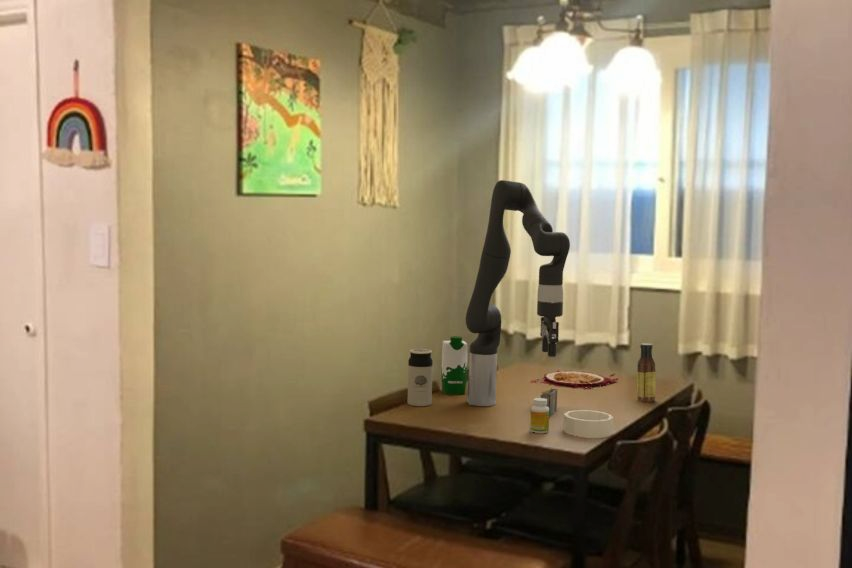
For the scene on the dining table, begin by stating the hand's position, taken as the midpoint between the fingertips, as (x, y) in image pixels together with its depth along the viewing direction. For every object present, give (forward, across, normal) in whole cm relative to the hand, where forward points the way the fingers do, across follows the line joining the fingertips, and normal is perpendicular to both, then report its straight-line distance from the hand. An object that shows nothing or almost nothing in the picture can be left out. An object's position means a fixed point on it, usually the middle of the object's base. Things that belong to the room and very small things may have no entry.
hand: (548, 354), depth 276 cm
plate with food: (+23, -75, +26) cm, 82 cm away
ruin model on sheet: (+23, -21, +5) cm, 32 cm away
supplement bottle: (+23, +2, -3) cm, 23 cm away
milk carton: (+22, -54, -22) cm, 62 cm away
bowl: (+23, +2, +12) cm, 26 cm away
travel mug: (+22, -34, -36) cm, 54 cm away
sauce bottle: (+23, -42, +44) cm, 65 cm away
